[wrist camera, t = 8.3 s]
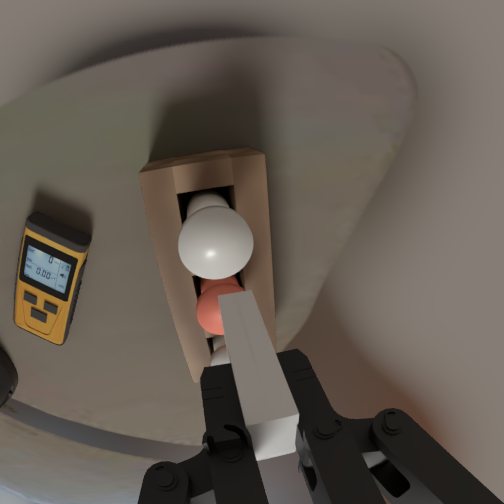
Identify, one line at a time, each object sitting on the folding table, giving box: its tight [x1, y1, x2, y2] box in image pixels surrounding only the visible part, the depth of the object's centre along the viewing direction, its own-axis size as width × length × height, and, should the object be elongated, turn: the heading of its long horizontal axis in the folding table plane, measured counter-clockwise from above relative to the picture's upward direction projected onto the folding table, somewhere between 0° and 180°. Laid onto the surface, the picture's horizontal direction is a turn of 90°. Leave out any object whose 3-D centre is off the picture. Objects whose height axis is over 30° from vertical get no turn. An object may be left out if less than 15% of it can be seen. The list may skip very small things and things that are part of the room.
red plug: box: [196, 274, 246, 335], centre depth 28 cm, size 5×5×8 cm
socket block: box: [139, 147, 277, 383], centre depth 30 cm, size 10×24×6 cm, turn 4°
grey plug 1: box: [178, 190, 253, 279], centre depth 22 cm, size 5×5×8 cm
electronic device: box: [13, 212, 92, 346], centre depth 28 cm, size 8×16×3 cm, turn 149°
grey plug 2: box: [210, 335, 230, 366], centre depth 32 cm, size 5×5×8 cm
